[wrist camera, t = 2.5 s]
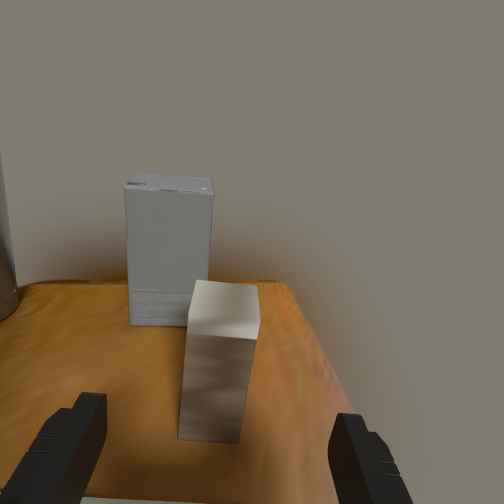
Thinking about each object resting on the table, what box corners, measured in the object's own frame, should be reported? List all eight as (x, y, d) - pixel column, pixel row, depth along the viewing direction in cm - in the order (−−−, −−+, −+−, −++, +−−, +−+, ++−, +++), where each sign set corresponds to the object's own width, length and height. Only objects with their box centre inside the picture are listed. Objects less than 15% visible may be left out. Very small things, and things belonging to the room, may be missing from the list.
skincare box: (204, 300, 44) (217, 175, 38) (203, 334, 38) (219, 191, 32) (135, 295, 43) (137, 166, 37) (122, 330, 36) (122, 179, 30)
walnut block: (177, 439, 26) (188, 312, 22) (186, 393, 30) (196, 279, 26) (238, 443, 26) (260, 320, 22) (238, 397, 30) (256, 286, 26)
